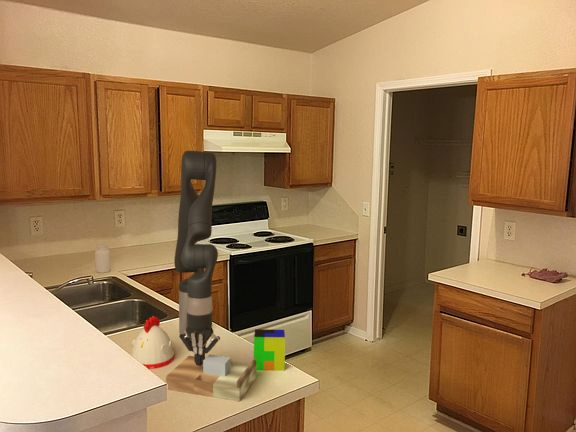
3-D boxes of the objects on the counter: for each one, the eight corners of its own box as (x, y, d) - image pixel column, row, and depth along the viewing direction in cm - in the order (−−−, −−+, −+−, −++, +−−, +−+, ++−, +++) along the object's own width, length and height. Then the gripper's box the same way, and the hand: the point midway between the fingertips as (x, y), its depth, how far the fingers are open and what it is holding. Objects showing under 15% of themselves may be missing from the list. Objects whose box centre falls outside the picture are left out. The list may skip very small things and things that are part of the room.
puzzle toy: (283, 357, 166) (284, 329, 164) (284, 370, 156) (285, 341, 154) (254, 357, 165) (255, 329, 164) (253, 370, 156) (253, 341, 154)
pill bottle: (92, 272, 266) (91, 245, 264) (100, 269, 274) (99, 243, 272) (105, 273, 265) (105, 246, 263) (113, 269, 273) (112, 243, 271)
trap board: (188, 367, 157) (188, 349, 156) (256, 377, 151) (256, 359, 150) (166, 389, 142) (165, 370, 141) (239, 401, 136) (239, 381, 136)
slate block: (209, 366, 149) (209, 354, 148) (230, 369, 147) (230, 357, 146) (203, 373, 144) (203, 360, 144) (225, 376, 143) (225, 363, 142)
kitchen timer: (122, 364, 157) (120, 320, 155) (147, 348, 170) (147, 307, 168) (158, 372, 153) (157, 327, 151) (181, 355, 166) (181, 313, 163)
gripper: (225, 308, 146) (224, 362, 148) (185, 303, 149) (185, 356, 152) (215, 316, 139) (214, 373, 141) (173, 311, 142) (173, 366, 145)
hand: (199, 364), depth 147 cm, fingers closed
